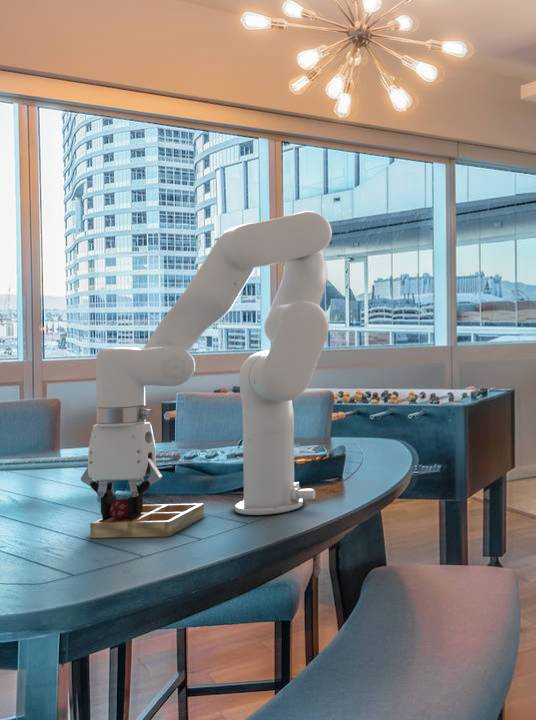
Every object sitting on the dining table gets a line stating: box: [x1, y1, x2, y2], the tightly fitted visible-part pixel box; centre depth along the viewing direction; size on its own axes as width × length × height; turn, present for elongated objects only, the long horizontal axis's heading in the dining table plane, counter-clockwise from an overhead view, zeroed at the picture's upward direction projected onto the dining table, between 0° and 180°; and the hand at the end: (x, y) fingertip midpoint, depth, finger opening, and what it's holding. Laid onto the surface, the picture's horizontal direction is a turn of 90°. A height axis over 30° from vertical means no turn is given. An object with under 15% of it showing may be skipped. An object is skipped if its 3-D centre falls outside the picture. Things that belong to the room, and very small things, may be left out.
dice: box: [108, 498, 128, 521], centre depth 144 cm, size 4×4×4 cm
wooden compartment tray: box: [89, 503, 205, 539], centre depth 148 cm, size 14×14×3 cm
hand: (121, 516), depth 144 cm, fingers closed on dice, 3 cm apart
